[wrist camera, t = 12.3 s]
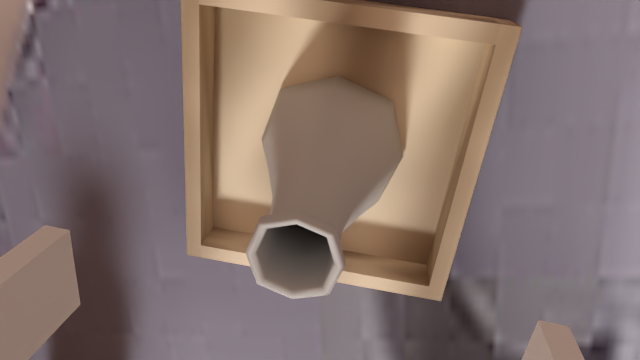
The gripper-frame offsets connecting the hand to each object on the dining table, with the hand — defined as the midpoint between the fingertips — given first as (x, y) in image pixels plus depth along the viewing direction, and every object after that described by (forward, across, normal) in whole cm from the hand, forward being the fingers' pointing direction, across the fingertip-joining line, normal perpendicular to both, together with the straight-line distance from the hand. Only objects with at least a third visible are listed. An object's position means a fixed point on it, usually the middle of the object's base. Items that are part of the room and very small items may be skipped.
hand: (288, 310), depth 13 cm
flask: (+12, 0, 0) cm, 12 cm away
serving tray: (+12, 0, 0) cm, 12 cm away
